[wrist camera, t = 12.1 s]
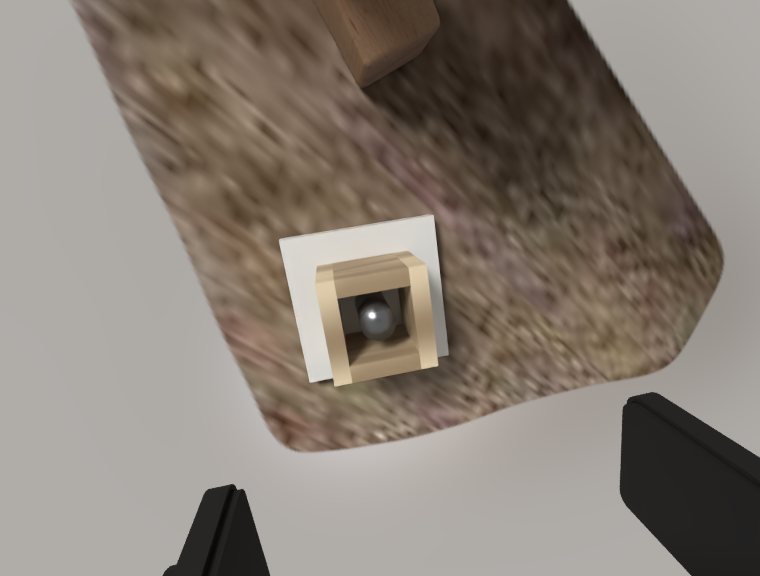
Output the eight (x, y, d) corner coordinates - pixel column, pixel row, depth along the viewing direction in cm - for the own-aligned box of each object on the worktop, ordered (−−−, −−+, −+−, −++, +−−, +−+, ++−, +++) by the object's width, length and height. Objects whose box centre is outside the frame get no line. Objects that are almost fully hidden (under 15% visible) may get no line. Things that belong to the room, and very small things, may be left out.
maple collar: (316, 265, 25) (314, 283, 20) (407, 250, 25) (426, 264, 21) (333, 350, 26) (334, 386, 22) (418, 334, 27) (438, 365, 22)
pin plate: (280, 238, 25) (268, 251, 20) (429, 214, 26) (455, 220, 21) (310, 375, 28) (306, 419, 22) (444, 349, 29) (471, 385, 23)
